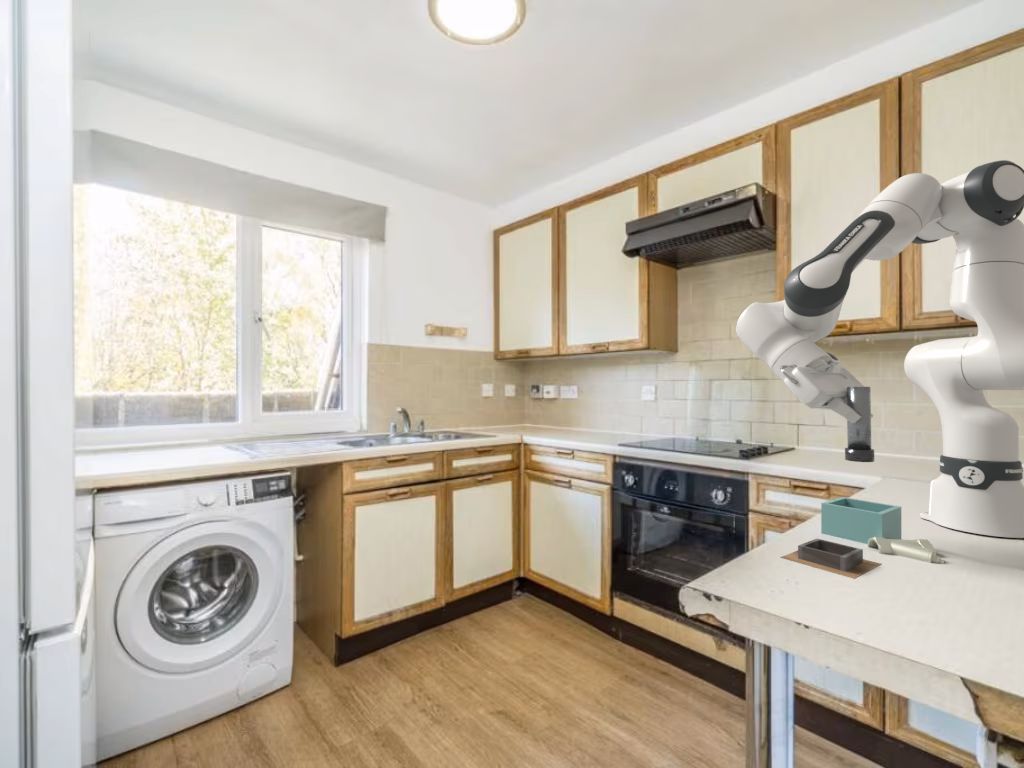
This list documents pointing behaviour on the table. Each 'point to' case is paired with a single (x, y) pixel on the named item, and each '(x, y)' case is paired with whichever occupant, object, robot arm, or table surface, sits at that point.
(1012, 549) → the table surface
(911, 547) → the pipe fitting
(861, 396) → the strut
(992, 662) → the table surface
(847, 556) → the mount plate
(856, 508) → the bin
